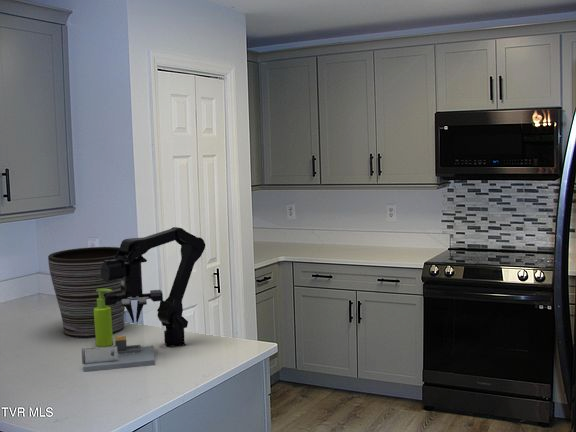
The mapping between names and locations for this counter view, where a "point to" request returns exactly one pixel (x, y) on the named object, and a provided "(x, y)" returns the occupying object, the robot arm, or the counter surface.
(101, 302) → the soap dispenser
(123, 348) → the fader knob
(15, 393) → the counter surface
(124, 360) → the console
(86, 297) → the planter pot
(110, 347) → the rack door
